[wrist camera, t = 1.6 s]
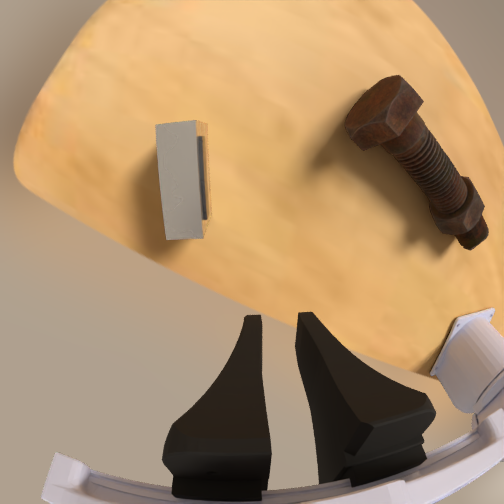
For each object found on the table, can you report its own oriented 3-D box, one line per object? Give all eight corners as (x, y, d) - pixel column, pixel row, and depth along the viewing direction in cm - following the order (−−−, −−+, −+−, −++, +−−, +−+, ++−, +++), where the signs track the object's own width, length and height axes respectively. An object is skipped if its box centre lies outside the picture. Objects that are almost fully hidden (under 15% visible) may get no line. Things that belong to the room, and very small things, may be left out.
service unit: (215, 216, 18) (207, 241, 14) (183, 218, 18) (166, 243, 14) (210, 123, 16) (200, 119, 12) (176, 126, 16) (155, 124, 12)
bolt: (446, 227, 21) (342, 110, 17) (485, 201, 18) (390, 67, 13) (460, 275, 18) (346, 145, 13) (507, 249, 14) (413, 87, 10)
